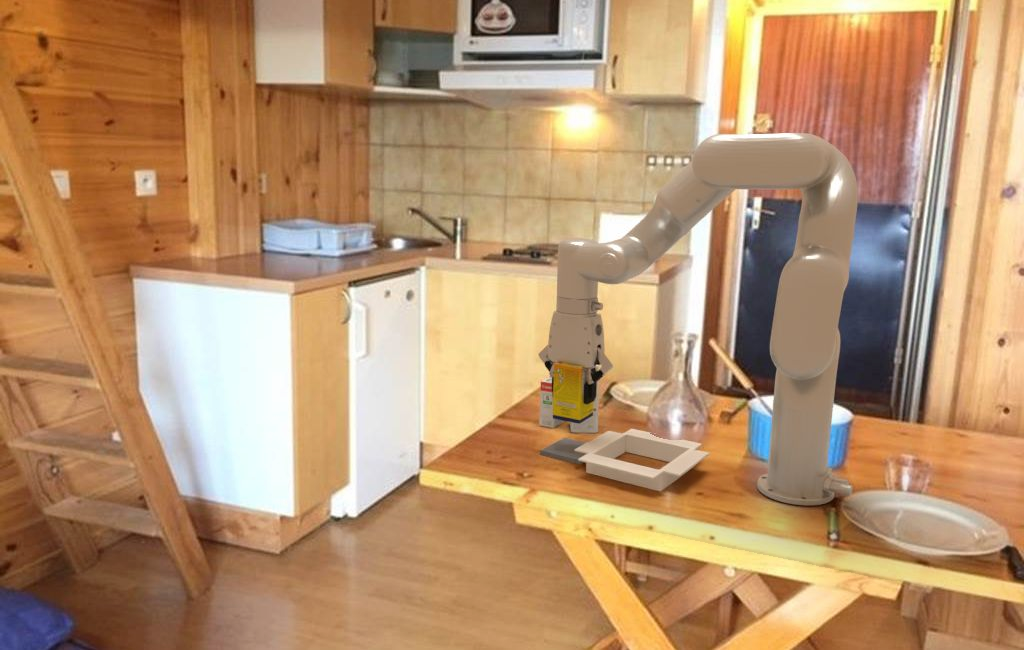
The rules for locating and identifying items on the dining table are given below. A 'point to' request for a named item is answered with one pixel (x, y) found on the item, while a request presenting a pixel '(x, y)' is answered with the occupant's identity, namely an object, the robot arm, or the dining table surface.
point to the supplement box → (570, 394)
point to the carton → (644, 444)
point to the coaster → (564, 450)
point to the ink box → (547, 405)
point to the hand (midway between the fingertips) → (573, 398)
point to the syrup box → (590, 423)
